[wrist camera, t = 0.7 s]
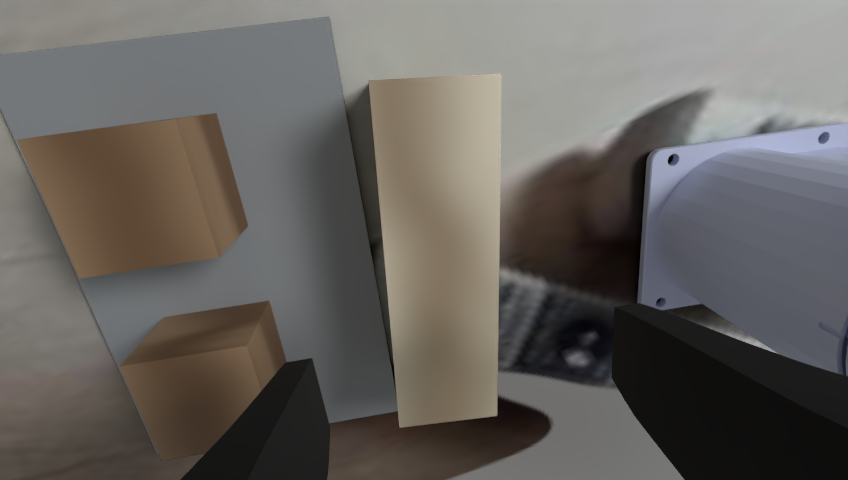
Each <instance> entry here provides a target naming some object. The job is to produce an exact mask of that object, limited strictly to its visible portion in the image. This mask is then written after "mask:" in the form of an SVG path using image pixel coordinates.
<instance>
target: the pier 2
mask: <svg viewBox="0 0 848 480" xmlns="http://www.w3.org/2000/svg"><path fill="white" fill-rule="evenodd" d="M286 362H287V361H286V358H285V354H284V351H283V347H282V343H281V340H280V336H279V333H278V329H277V326H276V322H275V319H274V315H273V312H272V308H271V304H270V301H263V302H257V303H250V304H244V305H238V306H231V307H225V308H219V309H212V310H206V311H199V312H193V313H187V314H180V315H174V316H168V317H164V319H163V320H162V321H161V322H160V323H159V324H158V325H157V326H156V327H155V328H154V329H153V330H152V332H151V333H150V334H149V335H148V336H147V337H146V338H145V339H144V340H143V341H142V342H141V343H140V345H139V346H138V347H137V348H136V349H135V350H134V351H133V352H132V353H131V354H130V355H129V356H128V358H127V359H126V360H125V361H124V362H123V363H122V364H121V365H120V366H119V368H120V370H121V372H122V374H123V376H124V379H125V381H126V383H127V385H128V388H129V390H130V392H131V394H132V396H133V399H134V401H135V403H136V405H137V407H138V410H139V412H140V414H141V416H142V419H143V421H144V423H145V425H146V427H147V430H148V432H149V434H150V436H151V438H152V441H153V443H154V445H155V447H156V450H157V452H158V454H159V456H160V458H161V461H163V460H169V459H175V458H180V457H186V456H191V455H197V454H203V453H207V451H208V450H209V449H210V448H211V447H212V446H213V445H214V444H215V443H216V442H217V441H218V440H219V439H220V438H221V437H222V436H223V434H224V433H225V432H226V431H227V430H228V429H229V428H230V427H231V426H232V425H233V423H234V422H235V421H236V420H237V419H238V418H239V416H240V415H241V414H242V413H243V412H244V411H245V410H246V408H247V407H248V406H249V405H250V404H251V403H252V401H253V400H254V399H255V398H256V397H257V395H258V394H259V393H260V392H261V391H262V390H263V388H264V387H265V386H266V385H267V383H268V382H269V381H270V380H271V379H272V377H273V376H274V375H275V374H276V373H277V372H278V370H279V369H280V368H281V367H282V366H283V365H284V364H285V363H286Z"/></svg>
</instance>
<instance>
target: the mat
mask: <svg viewBox="0 0 848 480" xmlns="http://www.w3.org/2000/svg"><path fill="white" fill-rule="evenodd" d="M0 109H1V111H2V113H3V115H4V118H5V120H6V122H7V124H8V126H9V129H10V131H11V133H12V135H13V137H14V140H15V142H16V144H17V146H18V149H19V151H20V153H21V155H22V157H23V160H24V162H25V164H26V166H27V168H28V171H29V173H30V175H31V177H32V179H33V182H34V184H35V186H36V188H37V190H38V193H39V195H40V197H41V199H42V201H43V204H44V206H45V208H46V210H47V212H48V215H49V217H50V219H51V221H52V224H53V226H54V228H55V230H56V232H57V235H58V237H59V239H60V241H61V243H62V246H63V248H64V250H65V252H66V254H67V257H68V259H69V261H70V263H71V265H72V268H73V270H74V272H75V274H76V276H77V279H78V281H79V283H80V285H81V287H82V290H83V292H84V294H85V296H86V299H87V301H88V303H89V305H90V307H91V310H92V312H93V314H94V316H95V318H96V321H97V323H98V325H99V327H100V329H101V332H102V334H103V336H104V338H105V340H106V343H107V345H108V347H109V349H110V351H111V354H112V356H113V358H114V360H115V362H116V365H117V367H118V369H119V371H120V374H121V376H122V378H123V380H124V382H125V385H126V387H127V389H128V391H129V393H130V396H131V398H132V400H133V402H134V404H135V407H136V409H137V411H138V413H139V415H140V418H141V420H142V422H143V424H144V426H145V429H146V431H147V433H148V435H149V437H150V440H151V442H152V444H153V446H154V448H155V451H156V453H157V454H158V452H157V450H156V447H155V445H154V443H153V441H152V438H151V436H150V434H149V432H148V430H147V427H146V425H145V423H144V421H143V419H142V416H141V414H140V412H139V410H138V407H137V405H136V403H135V401H134V399H133V396H132V394H131V392H130V390H129V388H128V385H127V383H126V381H125V379H124V376H123V374H122V372H121V370H120V368H119V366H120V365H121V364H122V363H123V362H124V361H125V360H126V359H127V358H128V356H129V355H130V354H131V353H132V352H133V351H134V350H135V349H136V348H137V347H138V346H139V345H140V343H141V342H142V341H143V340H144V339H145V338H146V337H147V336H148V335H149V334H150V333H151V332H152V330H153V329H154V328H155V327H156V326H157V325H158V324H159V323H160V322H161V321H162V320H163V319H164V317H168V316H174V315H180V314H187V313H193V312H199V311H206V310H212V309H219V308H225V307H231V306H238V305H244V304H250V303H257V302H263V301H270V304H271V308H272V312H273V315H274V319H275V322H276V326H277V329H278V333H279V336H280V340H281V343H282V347H283V351H284V354H285V358H286V361H287V362H291V361H297V360H303V359H309V358H312V359H313V363H314V367H315V371H316V375H317V379H318V382H319V386H320V390H321V394H322V398H323V402H324V406H325V409H326V413H327V417H328V421H329V423H334V422H339V421H345V420H350V419H356V418H362V417H367V416H373V415H379V414H384V413H390V412H396V411H398V406H397V395H396V389H395V384H394V378H393V373H392V367H391V361H390V356H389V350H388V344H387V339H386V333H385V328H384V322H383V316H382V311H381V305H380V299H379V294H378V288H377V282H376V277H375V271H374V266H373V260H372V254H371V249H370V243H369V237H368V232H367V226H366V221H365V215H364V209H363V204H362V198H361V192H360V187H359V181H358V176H357V170H356V164H355V159H354V153H353V147H352V142H351V136H350V131H349V125H348V119H347V114H346V108H345V102H344V97H343V91H342V86H341V80H340V74H339V69H338V63H337V57H336V52H335V46H334V40H333V35H332V29H331V24H330V18H329V17H320V18H312V19H303V20H295V21H286V22H278V23H269V24H260V25H252V26H243V27H235V28H226V29H218V30H209V31H201V32H192V33H183V34H175V35H166V36H158V37H149V38H141V39H132V40H123V41H115V42H106V43H98V44H89V45H81V46H72V47H64V48H55V49H46V50H38V51H29V52H21V53H12V54H4V55H0ZM213 113H217V116H218V120H219V123H220V127H221V131H222V134H223V138H224V141H225V145H226V148H227V152H228V155H229V159H230V162H231V166H232V170H233V173H234V177H235V180H236V184H237V187H238V191H239V194H240V198H241V202H242V205H243V209H244V212H245V216H246V219H247V223H248V227H247V228H246V229H245V230H244V231H243V232H242V233H241V234H240V235H239V237H238V238H237V239H236V240H235V241H234V242H233V243H232V244H231V245H230V246H229V247H228V248H227V249H226V251H225V252H224V253H223V254H222V255H221V256H220V257H219V258H214V259H207V260H200V261H194V262H187V263H180V264H174V265H167V266H160V267H154V268H147V269H140V270H134V271H127V272H120V273H114V274H107V275H100V276H94V277H87V278H80V279H79V277H78V275H77V272H76V270H75V268H74V266H73V264H72V261H71V259H70V257H69V255H68V252H67V250H66V248H65V246H64V244H63V241H62V239H61V237H60V235H59V233H58V230H57V228H56V226H55V224H54V222H53V219H52V217H51V215H50V213H49V210H48V208H47V206H46V204H45V202H44V199H43V197H42V195H41V193H40V191H39V188H38V186H37V184H36V182H35V179H34V177H33V175H32V173H31V171H30V168H29V166H28V164H27V162H26V160H25V157H24V155H23V153H22V151H21V148H20V146H19V144H18V142H17V139H25V138H32V137H39V136H46V135H53V134H60V133H68V132H75V131H82V130H89V129H97V128H104V127H112V126H120V125H128V124H135V123H143V122H151V121H159V120H166V119H174V118H182V117H190V116H197V115H205V114H213Z"/></svg>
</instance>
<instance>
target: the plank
mask: <svg viewBox="0 0 848 480" xmlns="http://www.w3.org/2000/svg"><path fill="white" fill-rule="evenodd" d="M501 91H502V74H486V75H466V76H447V77H427V78H408V79H388V80H369V92H370V103H371V114H372V125H373V137H374V148H375V159H376V170H377V182H378V193H379V204H380V215H381V227H382V238H383V249H384V260H385V271H386V283H387V294H388V305H389V316H390V328H391V339H392V350H393V361H394V372H395V384H396V395H397V406H398V417H399V428H401V427H409V426H418V425H426V424H434V423H443V422H451V421H459V420H468V419H476V418H484V417H492V416H497V397H498V320H499V244H500V167H501Z"/></svg>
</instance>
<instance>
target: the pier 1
mask: <svg viewBox="0 0 848 480" xmlns="http://www.w3.org/2000/svg"><path fill="white" fill-rule="evenodd" d="M17 142H18V144H19V146H20V148H21V151H22V153H23V155H24V157H25V160H26V162H27V164H28V166H29V168H30V171H31V173H32V175H33V177H34V179H35V182H36V184H37V186H38V188H39V191H40V193H41V195H42V197H43V199H44V202H45V204H46V206H47V208H48V210H49V213H50V215H51V217H52V219H53V222H54V224H55V226H56V228H57V230H58V233H59V235H60V237H61V239H62V241H63V244H64V246H65V248H66V250H67V252H68V255H69V257H70V259H71V261H72V264H73V266H74V268H75V270H76V272H77V275H78V277H79V279H80V278H87V277H94V276H100V275H107V274H114V273H120V272H127V271H134V270H140V269H147V268H154V267H160V266H167V265H174V264H180V263H187V262H194V261H200V260H207V259H214V258H219V257H220V256H221V255H222V254H223V253H224V252H225V251H226V249H227V248H228V247H229V246H230V245H231V244H232V243H233V242H234V241H235V240H236V239H237V238H238V237H239V235H240V234H241V233H242V232H243V231H244V230H245V229H246V228H247V227H248V223H247V219H246V216H245V212H244V209H243V205H242V202H241V198H240V194H239V191H238V187H237V184H236V180H235V177H234V173H233V170H232V166H231V162H230V159H229V155H228V152H227V148H226V145H225V141H224V138H223V134H222V131H221V127H220V123H219V120H218V116H217V113H213V114H205V115H197V116H190V117H182V118H174V119H166V120H159V121H151V122H143V123H135V124H128V125H120V126H112V127H104V128H97V129H89V130H82V131H75V132H68V133H60V134H53V135H46V136H39V137H32V138H25V139H17Z"/></svg>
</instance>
